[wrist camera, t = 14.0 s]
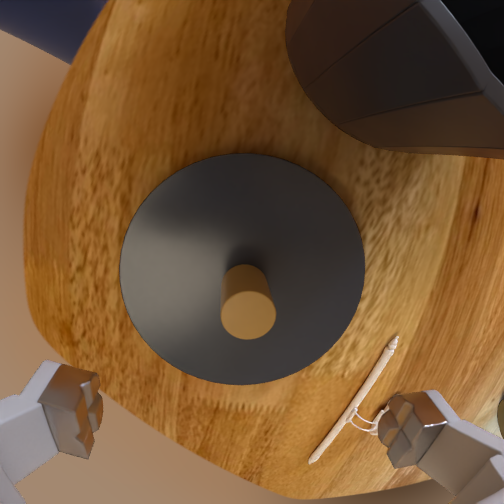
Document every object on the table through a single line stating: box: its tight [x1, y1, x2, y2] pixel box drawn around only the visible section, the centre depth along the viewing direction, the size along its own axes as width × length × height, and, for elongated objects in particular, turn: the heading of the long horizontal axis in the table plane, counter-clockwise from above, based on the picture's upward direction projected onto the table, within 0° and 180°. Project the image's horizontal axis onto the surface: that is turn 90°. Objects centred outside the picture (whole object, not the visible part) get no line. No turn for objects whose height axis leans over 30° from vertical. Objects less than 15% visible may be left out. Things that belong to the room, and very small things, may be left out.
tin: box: [285, 0, 504, 159], centre depth 9 cm, size 13×13×12 cm
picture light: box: [308, 336, 399, 464], centre depth 21 cm, size 14×4×2 cm, turn 159°
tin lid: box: [119, 153, 365, 385], centre depth 16 cm, size 14×14×5 cm
